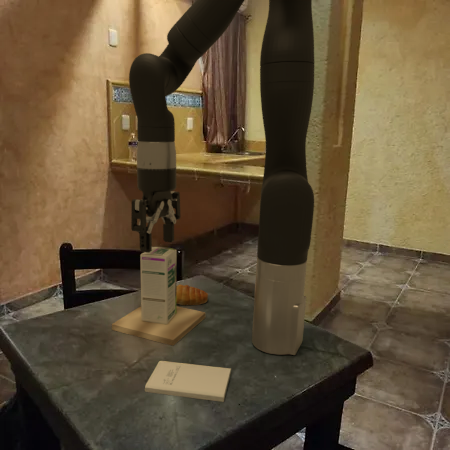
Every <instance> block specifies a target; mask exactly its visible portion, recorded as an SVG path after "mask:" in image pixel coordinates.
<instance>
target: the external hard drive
mask: <svg viewBox="0 0 450 450" xmlns="http://www.w3.org/2000/svg"><path fill="white" fill-rule="evenodd" d="M231 375H232V368H231V367H230V368H227V367H219V366H211V365H210V366H209V365H201V364H192V363H185V362H183V363H182V362H174V361H165V360H160V361H158V363H157V364H156V366H155V368H154V370H153V371H152V373H151V375H150V377H149V378H148V380H147V381H146V383H145V387H144V392H146V393H152V394H159V395H167V396H175V397H180V398H181V397H182V398H190V399H197V400H205V401H215V402H219V403H220V402H221V403H224V402H225V400H226V399H225V398H226V395H227V390H228V385H229V382H230V379H231Z"/></svg>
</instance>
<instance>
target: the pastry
mask: <svg viewBox="0 0 450 450" xmlns="http://www.w3.org/2000/svg"><path fill="white" fill-rule="evenodd" d="M176 287H177V288H176V305H180V306H199V305H201V304H205V303H207V302H208V300H209V299H208V298H209V293H208V292H206V291H204V290H203V289H200V288H198V287H194V286H189V285H188V284H185V285H183V284H177V285H176Z"/></svg>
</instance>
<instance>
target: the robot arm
mask: <svg viewBox="0 0 450 450" xmlns="http://www.w3.org/2000/svg"><path fill="white" fill-rule="evenodd" d="M312 1H313V0H268V14H267V19H266V25H265V29H264V32H263V37H262V41H261V49H260V58H259V60H260V61H259V75H260V76H259V84H260V86H259V90H260V91H259V93H260V106H261V115H262V121H263V123H262V124H263V129H264V137H265V138H264V139H265V155H264V165H263V167H264V168H263V178H262V184H261V189H260V200H259V201H260V202H259V203H260V204H259V219H258V236H257V237H258V238H257V252H256V253H257V254H256V268H255V269H256V270H255V284H254V296H253V298H254V300H253V318H252V329H251V343H252V345H253V346H254V348H256V349H257V350H259V351H262V352H264V353H267V354H271V355H279V356H280V355H291V356H292V355H293V356H295V355H296V354H297V352H298V350H299V349H300V347H301V345H302V343H303V339H304V338H303V337H304V329H305V316H306V307H307V306H306V305H307V296H306V295H305V286H306V276H307V266H308V265H307V263H308V254H309V249H310V247H311V240H312V230H313V221H314V211H315V194H314V190H313V188H312V186H311V184H310V183H309V178H308V171H307V155H306V154H307V153H306V149H307V148H306V146H307V145H306V144H307V136H308V129H309V125H310V119H311V113H312V107H313V99H314V89H315V37H314V36H315V35H314V21H313V11H312ZM244 2H245V0H195V1H194V2H193V3H192V4H191V5H190V7H189V8H188V9H187V10H186V11H185V12H184V13H183V14H182V15H181V17H180V18H179V19H178V20H177V21H176V22H175V23H174V24H173V26H171V28H170V29H169V31H168V33H167V36H166V40H167V43H168V44H167V45H166V47H165V48H164V50H163V51H162V53H160V55H157V54H154V53H149V52H145V53H141V54H139V55H137V56H136V57H135V58H134V59H133V61H132V63H131V65H130V68H129V73H128V82H129V83H128V84H129V90H130V95H131V99H132V104H133V108H134V112H135V115H136V118H137V123H136V124H137V148H136V177H137V178H136V180H137V182H136V183H137V189H138V190H139V191H141V192H142V198H141V199H136V198H135V199H134V198H133V199H132V200H131V217H130V220H131V222H130V223H131V226H130V227H131V229H130V230H131V231H132V232H136V233H138V234H139V250H140V251H141V252H142V253H144V252H151V251H152V247H153V244H152V242H153V240H152V239H153V238H152V237H153V235H152V230H153V227H154V225H155V224H156V223H158V220H159V219H160V218H161V220H162V221H163V224H162V225H163V226H162V228H163V229H162V230H163V231H162V233H163V234H162V235H163V236H162V238H163V239H162V240H163V241H164V242H165V243H173V242H175V225H176V223H177V220H181V194H180V192H179V191H176V189H177V150H176V143H175V142H176V138H175V137H176V130H175V127H176V123H175V116H174V114H173V113H172V111H170V109H168V105H167V103H168V102H167V97H168V96H170V95H172V94H173V93H175V92H176V91H177V90H178V89H179V88H180V87H181V86H182V85H183V84H184V82H185V81H186V79H187V78H188V76H189V75H190V73H191V72H192V70H193V68H194V67H195V65H196V63H197V62H198V61H199V60H200V59H201V58H202V57H203V56H204V54H206V53H207V52H208V51H209V50H210V49H211V47H213V45H214V44H215V43H216V42H218V40H219V39H220V38H221V37H222V36H223V35H224V33H225V32H226V30H227V29H228V28H229V26H230V25H231V23H233V22H232V21H233V20H234V18H235V17H236V15H237V13H238V12H239V10H240V8H241V7H242V5H243V3H244ZM138 220H139V222H138Z"/></svg>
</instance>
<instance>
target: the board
mask: <svg viewBox="0 0 450 450" xmlns="http://www.w3.org/2000/svg"><path fill="white" fill-rule="evenodd" d="M176 312H177V313H176V314H175V315H174V317H173V318H172V319H171V320H170V321H169V322H168V324H159V323H152V322H146V321H142V319H141V305H140V306H139V307H137V308H135V309H134V310H132V311H131V312H129V313H128V314H126V315H124V316H123V317H121V318H119V319H118V320H116V321H115V322H113V323H111V331H116V332H118V333H123V334H127V335H130V336H133V337H134V336H135V337H138V338H142V339H145V340H149V341H154V342H157V343H161V344H165V345H168V346H175V345H177V343H178V342H179V341H181V340H182V339H183V338H184V337H185V336H187V335H188V334H189V333H190V332H191V331H192V330H193V329H195V328H196V327H197V326H198V325H199V324H201V322H203V320H205V319H206V316H207V315H206V312H204V311H199V310H196V309H190V308H186V307H182V306H178V305H176Z"/></svg>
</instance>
